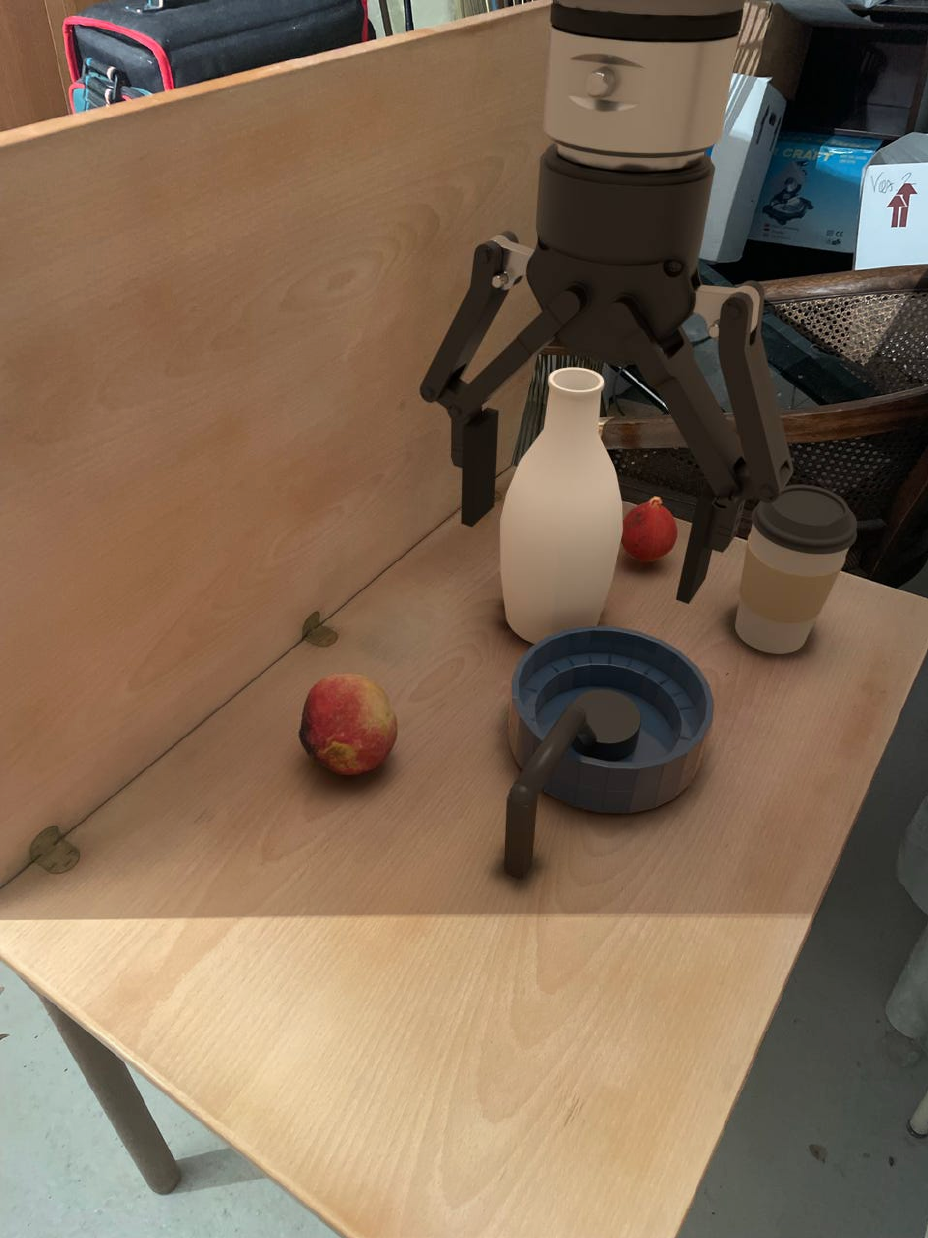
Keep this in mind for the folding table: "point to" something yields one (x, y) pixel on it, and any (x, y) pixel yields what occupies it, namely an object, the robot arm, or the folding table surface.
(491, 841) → the folding table surface
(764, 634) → the coffee cup
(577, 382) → the bottle
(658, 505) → the red pomegranate
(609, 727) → the ladle
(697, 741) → the bowl
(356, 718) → the fruit
